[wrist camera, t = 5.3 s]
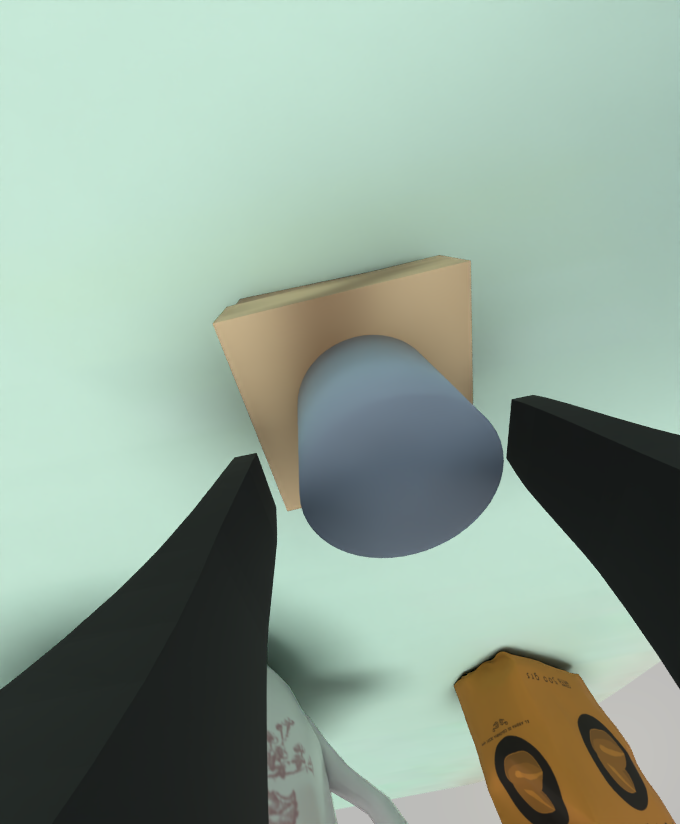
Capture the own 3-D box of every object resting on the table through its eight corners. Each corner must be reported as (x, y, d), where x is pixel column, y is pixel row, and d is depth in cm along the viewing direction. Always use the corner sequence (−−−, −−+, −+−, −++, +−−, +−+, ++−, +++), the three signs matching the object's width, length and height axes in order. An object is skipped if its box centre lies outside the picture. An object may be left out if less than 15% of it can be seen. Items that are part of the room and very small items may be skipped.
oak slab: (439, 255, 12) (470, 260, 10) (449, 433, 16) (473, 465, 14) (226, 307, 12) (212, 323, 10) (288, 473, 16) (287, 511, 14)
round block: (439, 325, 11) (519, 378, 7) (432, 450, 13) (490, 541, 10) (286, 345, 11) (281, 411, 7) (308, 469, 13) (314, 571, 9)
